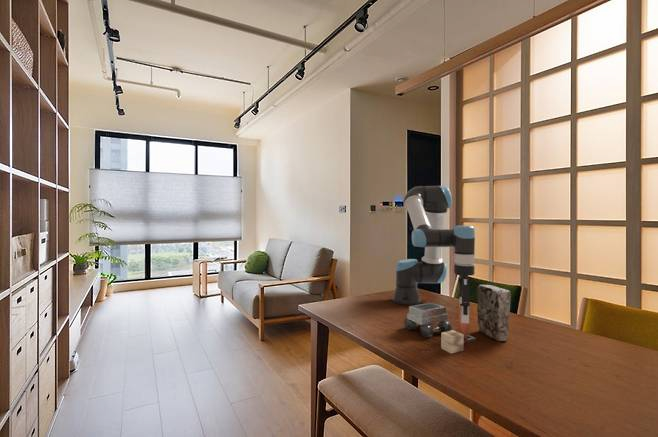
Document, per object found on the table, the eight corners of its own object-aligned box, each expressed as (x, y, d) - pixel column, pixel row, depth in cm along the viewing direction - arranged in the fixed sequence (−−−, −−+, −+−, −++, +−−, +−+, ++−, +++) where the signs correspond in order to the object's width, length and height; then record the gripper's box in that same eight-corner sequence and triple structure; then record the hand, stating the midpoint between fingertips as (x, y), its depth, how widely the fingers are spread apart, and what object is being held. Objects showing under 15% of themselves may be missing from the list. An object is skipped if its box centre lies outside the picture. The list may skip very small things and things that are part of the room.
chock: (452, 345, 129) (453, 330, 129) (463, 350, 124) (463, 334, 124) (441, 348, 126) (441, 332, 126) (451, 353, 122) (451, 337, 121)
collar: (462, 334, 140) (462, 332, 140) (475, 339, 134) (475, 337, 134) (451, 337, 137) (451, 335, 137) (464, 342, 131) (464, 340, 131)
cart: (427, 323, 154) (427, 300, 153) (452, 334, 140) (453, 309, 140) (402, 328, 147) (402, 304, 147) (427, 340, 134) (427, 314, 134)
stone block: (512, 340, 134) (512, 290, 133) (498, 342, 131) (499, 291, 131) (486, 329, 146) (486, 283, 145) (473, 331, 144) (473, 284, 143)
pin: (462, 336, 138) (463, 304, 138) (471, 339, 135) (471, 307, 134) (455, 337, 136) (456, 305, 136) (463, 341, 133) (464, 308, 132)
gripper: (453, 259, 148) (452, 308, 148) (455, 268, 124) (455, 326, 124) (471, 260, 145) (471, 309, 146) (477, 269, 121) (477, 328, 122)
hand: (463, 317), depth 135 cm, fingers open, 13 cm apart
